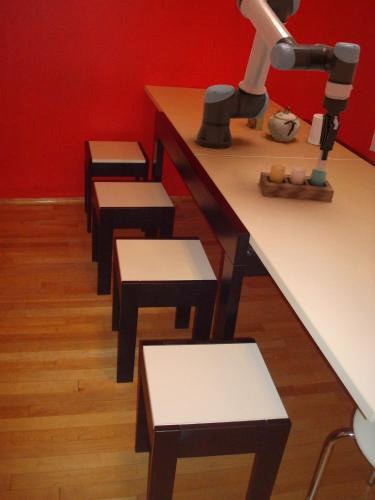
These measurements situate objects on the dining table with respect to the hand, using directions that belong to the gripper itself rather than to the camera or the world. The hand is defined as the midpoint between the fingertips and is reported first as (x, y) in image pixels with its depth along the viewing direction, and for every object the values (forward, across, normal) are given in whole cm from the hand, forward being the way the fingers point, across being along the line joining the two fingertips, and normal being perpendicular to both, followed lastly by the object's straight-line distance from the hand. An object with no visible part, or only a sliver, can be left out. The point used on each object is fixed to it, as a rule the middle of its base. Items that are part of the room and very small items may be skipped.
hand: (320, 168), depth 167 cm
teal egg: (+6, 0, 0) cm, 6 cm away
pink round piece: (+6, 0, +7) cm, 9 cm away
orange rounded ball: (+6, 0, +14) cm, 15 cm away
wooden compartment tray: (+9, 0, +7) cm, 12 cm away
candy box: (+9, +79, +12) cm, 81 cm away
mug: (+9, +61, -15) cm, 64 cm away
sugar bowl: (+9, +64, +1) cm, 65 cm away
